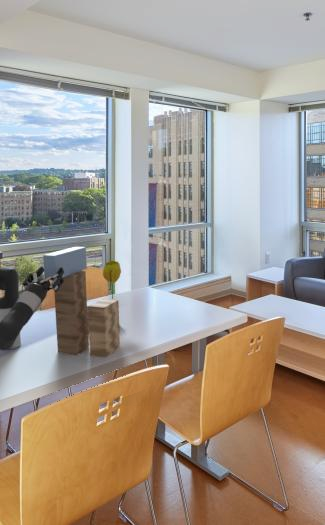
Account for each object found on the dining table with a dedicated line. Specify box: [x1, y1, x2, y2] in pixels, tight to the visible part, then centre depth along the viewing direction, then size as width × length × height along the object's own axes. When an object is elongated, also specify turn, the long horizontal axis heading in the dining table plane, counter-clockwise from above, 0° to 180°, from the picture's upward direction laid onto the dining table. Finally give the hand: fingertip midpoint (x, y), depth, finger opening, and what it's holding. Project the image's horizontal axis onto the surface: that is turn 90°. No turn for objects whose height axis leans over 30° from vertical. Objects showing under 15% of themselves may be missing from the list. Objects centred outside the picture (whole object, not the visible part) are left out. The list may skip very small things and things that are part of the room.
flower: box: [102, 260, 122, 300], centre depth 223 cm, size 9×8×30 cm
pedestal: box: [53, 270, 90, 356], centre depth 188 cm, size 9×9×32 cm
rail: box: [42, 246, 88, 280], centre depth 183 cm, size 22×5×9 cm, turn 158°
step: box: [87, 298, 121, 358], centre depth 187 cm, size 12×7×20 cm, turn 158°
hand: (52, 268), depth 174 cm, fingers open, 8 cm apart
